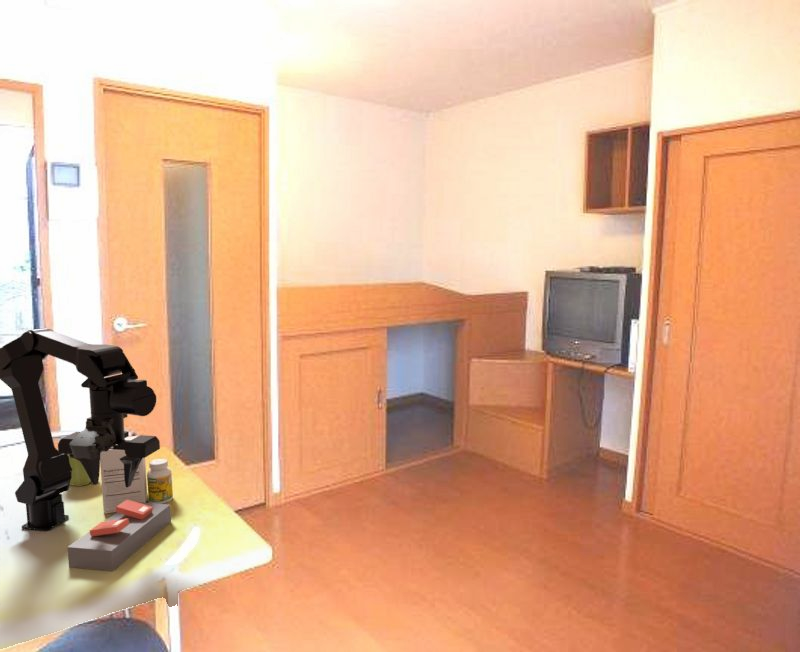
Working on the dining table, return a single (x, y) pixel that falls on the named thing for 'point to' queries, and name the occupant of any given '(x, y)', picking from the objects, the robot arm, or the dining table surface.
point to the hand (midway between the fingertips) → (111, 485)
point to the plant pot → (78, 473)
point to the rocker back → (134, 509)
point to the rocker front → (109, 527)
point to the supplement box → (120, 480)
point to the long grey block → (118, 540)
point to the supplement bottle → (159, 482)
